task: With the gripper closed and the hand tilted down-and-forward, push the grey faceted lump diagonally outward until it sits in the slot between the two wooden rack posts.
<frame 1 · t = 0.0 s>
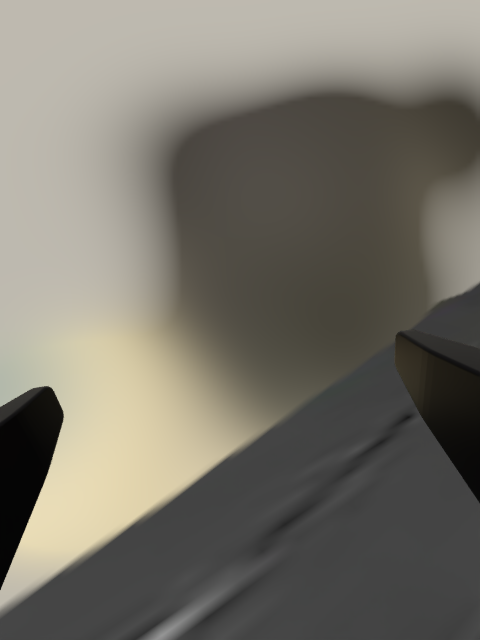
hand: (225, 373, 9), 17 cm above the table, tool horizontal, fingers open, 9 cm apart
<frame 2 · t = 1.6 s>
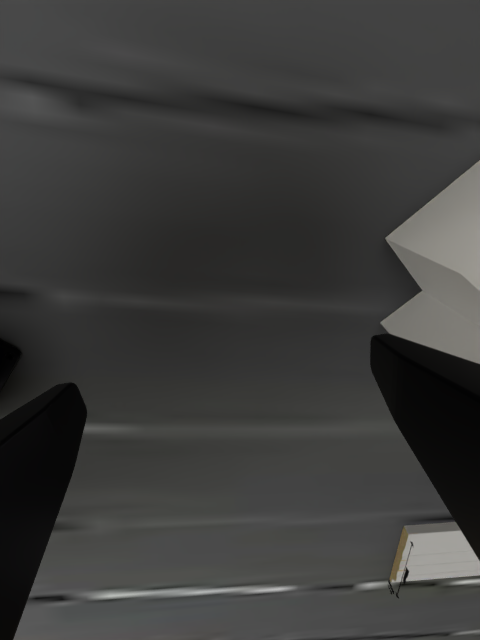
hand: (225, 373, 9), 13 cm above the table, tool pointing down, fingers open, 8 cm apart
grey faceted lump: (454, 279, 23), on the table
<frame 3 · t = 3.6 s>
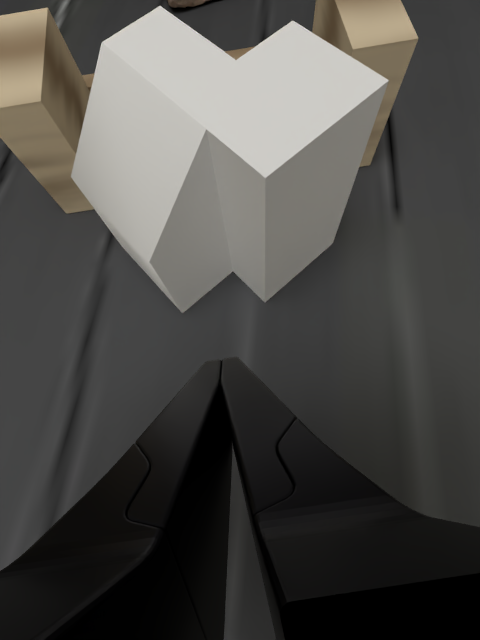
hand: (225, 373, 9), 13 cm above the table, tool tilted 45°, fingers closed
wooden rack: (214, 169, 28), on the table
grey faceted lump: (225, 246, 26), on the table
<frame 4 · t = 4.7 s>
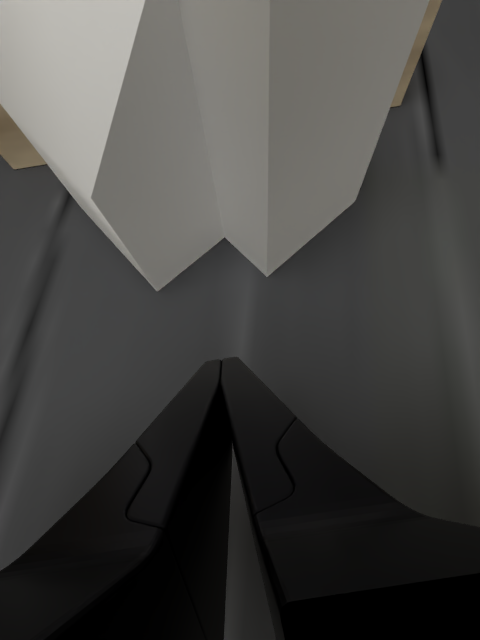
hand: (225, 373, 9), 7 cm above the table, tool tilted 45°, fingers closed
wooden rack: (201, 114, 22), on the table
grey faceted lump: (215, 207, 20), on the table
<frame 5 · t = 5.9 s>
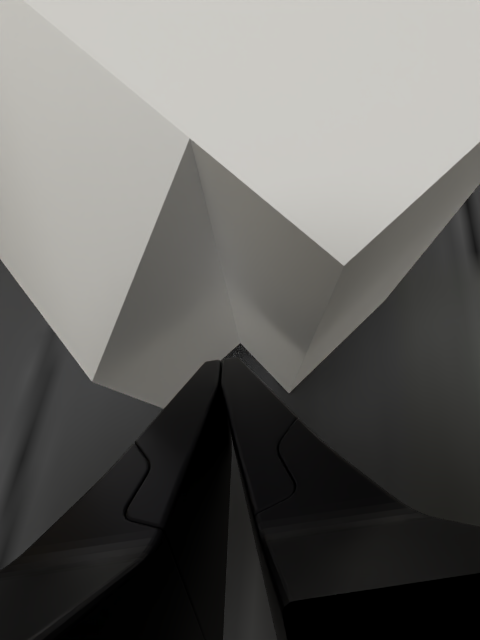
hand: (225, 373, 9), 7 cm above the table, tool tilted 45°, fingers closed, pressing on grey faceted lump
grey faceted lump: (228, 304, 18), on the table, touching gripper
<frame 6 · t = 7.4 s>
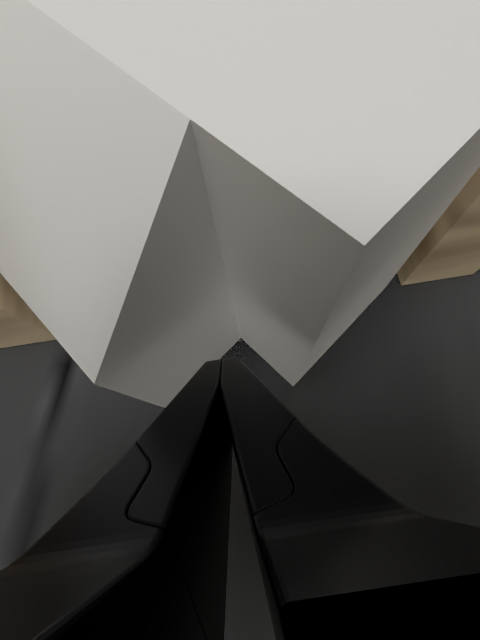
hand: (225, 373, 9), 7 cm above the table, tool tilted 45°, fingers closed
wooden rack: (224, 276, 18), on the table
grey faceted lump: (227, 299, 18), on the table, touching gripper
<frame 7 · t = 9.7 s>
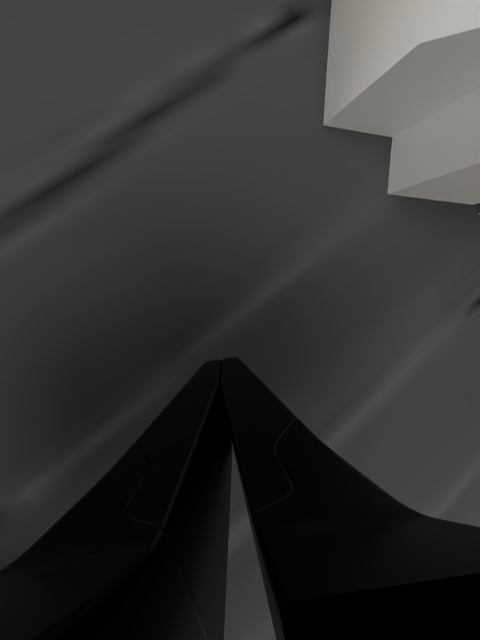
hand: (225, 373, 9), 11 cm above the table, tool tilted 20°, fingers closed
grey faceted lump: (406, 107, 21), on the table
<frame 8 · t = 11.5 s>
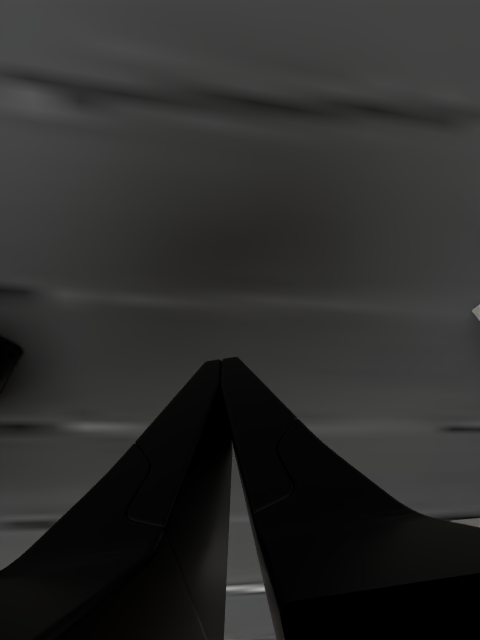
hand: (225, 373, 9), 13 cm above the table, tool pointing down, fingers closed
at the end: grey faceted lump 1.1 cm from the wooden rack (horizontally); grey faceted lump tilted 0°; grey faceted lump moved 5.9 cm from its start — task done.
